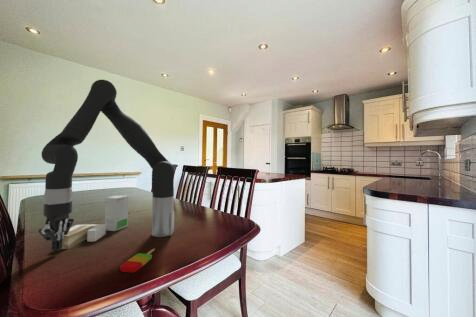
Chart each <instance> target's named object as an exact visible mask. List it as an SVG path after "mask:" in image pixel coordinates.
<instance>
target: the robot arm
mask: <svg viewBox="0 0 476 317" xmlns="http://www.w3.org/2000/svg"><path fill="white" fill-rule="evenodd" d="M117 95H118V94H117V88H116V86H115V85H114V84H113V82H111V81H109V80H106V79H97V80H95V81H94V82H93V83H92V84H91V86H90V90H89V92H88V94H87V95H86V98H85V100H84V101H83V103H82V104H81V106H80V107H79V109H78V110H77V111H76V112H75V114H74V115H73V116H72V118H71V119H69V121H68V122H67V123H66V125H65V126H64V128H63V129H62V131H61V132H60V133H59V134H57V135H56V136H55V137H53V138H52V139H51V140H50V141H49V142H47V143H46V144H45V146H43V149H42V150H41V158H42V161H43V162H45V163H46V164H51V165H54V167H53V170H52V171H49V172H47V173H46V175H45V182H44V184H45V187H44V188H45V189H44V192H43V193H44V194H43V214H42V215H43V216H44V217H45V218H46V220H45V222H44V224H45V225H44V227H43V228H40V229H39V230H38V234H40V236H42V238H43V239H44V240H45V241H47V242H48V241H50V242H51V251H52V252H59V251H60V250H63V249H62V240H63V238H64V235H67V234H68V232H69V230H70V228H71V227H72V225H73V223H74V221H75V220H74V218H70V214H71V213H72V212H73V175H74V172H75V169H76V166H77V163H78V159H79V155H78V151H77V149H76V148H75V146H78V145H81V144H82V143H83V142H84V141H85V140H86V138H87V136H88V135H89V133H90V132H91V131H92V129H93V126H94V125H95V123H96V121H97V119H98V117H99V115H100V113H102V114H103V115H104V116H105V117H106V118H107V119H108V120H109V121H110V123H111V124H112V125H113V127H114V128H115V129H116V130H117V132H118V133H119V134H120V136H121V137H122V138H123V139H124V141H125V142H126V143H127V144H128V145H129V147H131V149H133V150H134V151H135V152H136V154H138V155H140V156H141V157H142V158H143V159H144V160H145V161H146V162H147V164H148V165H149V166H150V168H151V192H152V198H151V199H152V205H151V208H152V209H151V236H152V237H155V238H162V237H163V238H164V237H168V236H173V233H174V232H175V210H174V204H175V203H174V202H175V201H174V199H175V198H174V197H175V195H174V194H175V189H174V184H175V183H174V182H175V181H174V180H175V172H176V170H175V166H174V165H173V163H171V162H170V161H169V160H168V159H167V158H166V157H165V156H164V155H163V154H162V152H160V150H159V149H158V147H157V145H156V144H155V143H154V141H153V140H152V138H151V137H150V136H149V134H148V133H147V131H146V130H145V129H144V128H143V126H142V125H141V124H140V123H139V122H138V120H136V119H134V118H133V117H131V116H129V115H127V114H126V113H125V112H124V111H123V110H122V109H121V107H120V106H119V104H118V103H117V101H116V98H117Z"/></svg>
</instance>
